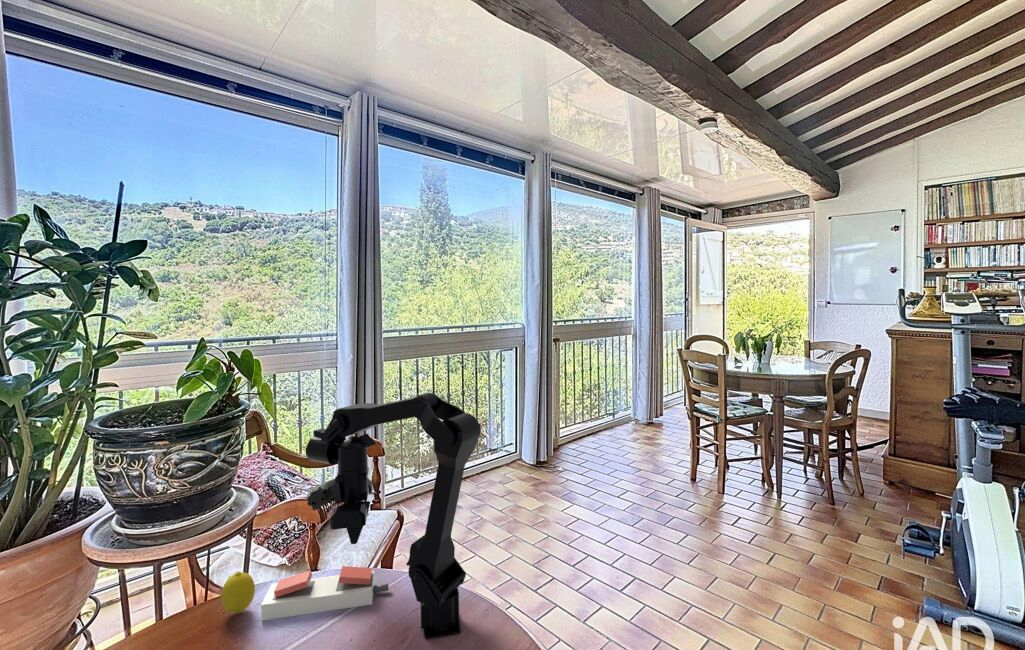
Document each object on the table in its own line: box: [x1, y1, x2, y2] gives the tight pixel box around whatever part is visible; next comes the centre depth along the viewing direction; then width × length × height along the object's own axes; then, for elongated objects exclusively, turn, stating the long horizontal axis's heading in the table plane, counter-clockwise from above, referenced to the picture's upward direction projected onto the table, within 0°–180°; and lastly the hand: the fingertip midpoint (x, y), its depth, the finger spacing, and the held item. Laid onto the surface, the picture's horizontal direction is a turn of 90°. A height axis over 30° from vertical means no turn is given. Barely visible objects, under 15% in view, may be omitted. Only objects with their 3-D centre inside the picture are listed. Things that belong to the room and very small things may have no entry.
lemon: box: [220, 571, 256, 615], centre depth 88 cm, size 6×6×8 cm
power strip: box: [260, 570, 389, 622], centre depth 92 cm, size 23×7×3 cm, turn 103°
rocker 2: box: [339, 565, 373, 585], centre depth 93 cm, size 6×4×1 cm, turn 103°
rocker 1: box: [274, 569, 313, 598], centre depth 90 cm, size 6×4×1 cm, turn 103°
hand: (354, 543), depth 93 cm, fingers closed
